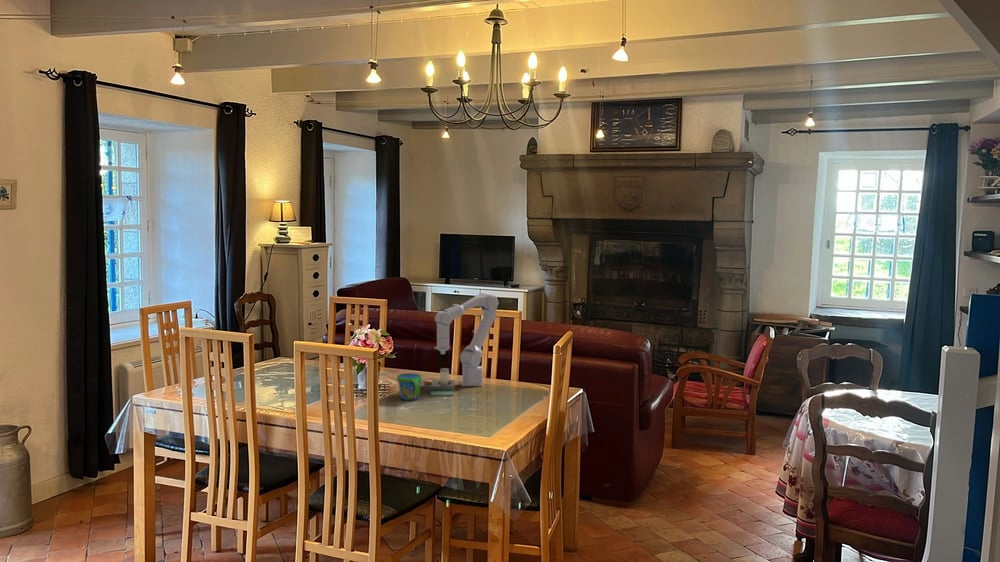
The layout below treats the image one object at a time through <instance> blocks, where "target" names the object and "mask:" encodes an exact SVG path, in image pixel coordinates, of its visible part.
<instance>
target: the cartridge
mask: <svg viewBox="0 0 1000 562" xmlns="http://www.w3.org/2000/svg"><path fill="white" fill-rule="evenodd" d="M439 376H440V377H439V380H440V384H449V380H450V369H449V368H446V367H442V368H440V369H439Z"/></svg>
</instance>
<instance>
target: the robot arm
mask: <svg viewBox="0 0 1000 562" xmlns="http://www.w3.org/2000/svg"><path fill="white" fill-rule="evenodd" d="M499 304H500V302H499V300H498V297H497V296H496V295H495V294H487V293H484V292H481V293H479V294H475V296H474V297H472V298H470V299H469V300H466V301H465V302H462V304H458V303H454V304H452V306H451V307H449V308H445V309H444V310H442V311H437V312H436V314H435V317H433V318H434V319H433V320H434V322H435V323H436V346H434V347H433V349H435V350H437V351H436V355H437V356H438V359H439V365H440V368H446V365H447V359H448V356H449V355H450V348H451V347H450V326H451V323H452V322H453V320H456V319H457V318H460V317H462V316H463V315H464V313H465V312H466V311H468V310H470V309H473V308H475V307H477V306H478V307H479V308H480V309H481V311H482V314H483V316H482V318H481V320H480V322H479V324H478V326H477V329H476V331H475V333H474V335H473V337H472V339H471V341H470V343H469V345H466V347H464V349H463V350H462V351H461V353H460V355H459V361H460V363H461V365H462V368H461V369H462V370H461V371H462V372H461V373H462V376H461V377H462V379H461V387H482V386H483V384H482V383H483V366H482V365H480V364H481V362H482V355H483V352H482V347H483V345H484V343H485V341H486V339H487V336H488V334H489V332H490V330H491V327H492V325H493V323H494V321H495V320H496V317H497V308H498V306H499Z"/></svg>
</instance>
